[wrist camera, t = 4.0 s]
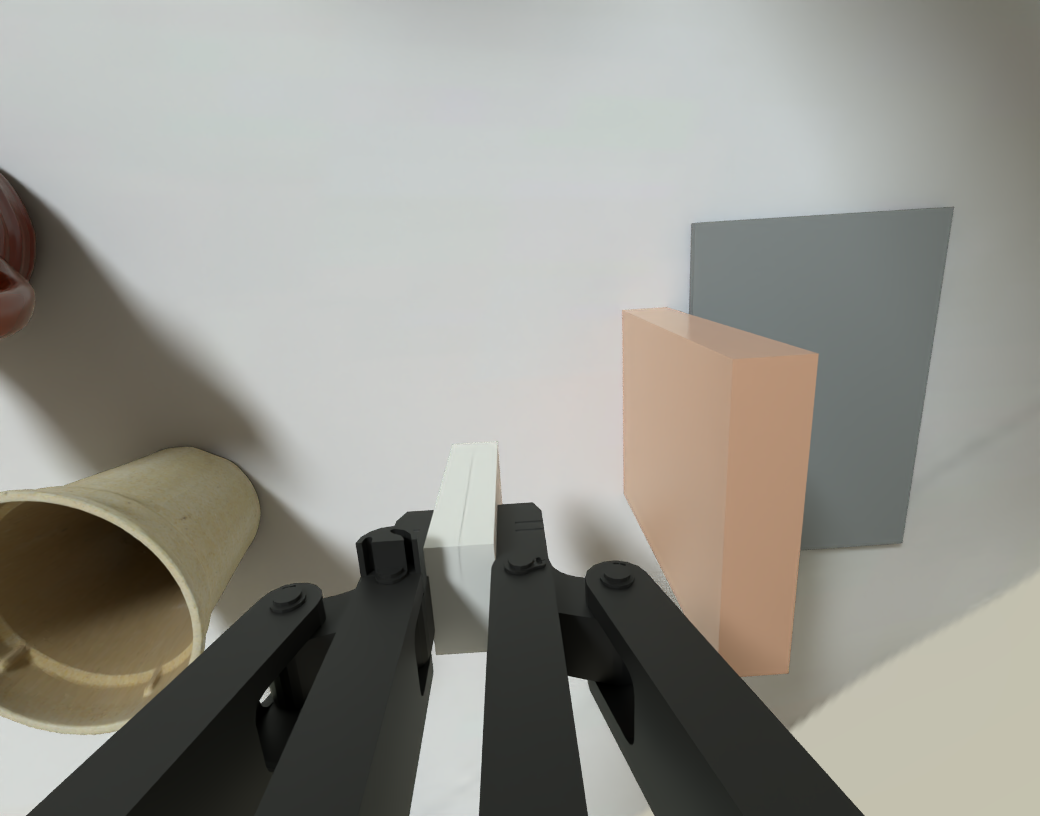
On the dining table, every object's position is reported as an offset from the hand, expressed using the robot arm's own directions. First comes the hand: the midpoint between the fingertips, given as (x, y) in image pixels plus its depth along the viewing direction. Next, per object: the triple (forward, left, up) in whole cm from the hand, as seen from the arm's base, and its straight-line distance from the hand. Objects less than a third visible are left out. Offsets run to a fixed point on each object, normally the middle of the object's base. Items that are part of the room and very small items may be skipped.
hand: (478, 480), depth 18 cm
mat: (-8, +13, -7) cm, 17 cm away
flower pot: (+10, -11, -8) cm, 17 cm away
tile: (-4, +6, -8) cm, 11 cm away
